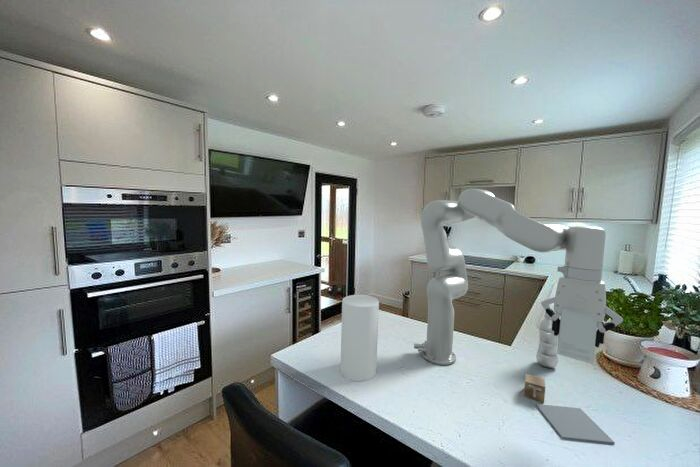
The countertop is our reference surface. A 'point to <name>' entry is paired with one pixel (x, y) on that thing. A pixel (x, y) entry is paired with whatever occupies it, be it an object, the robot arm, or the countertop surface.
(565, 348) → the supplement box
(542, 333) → the plastic bottle
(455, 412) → the countertop surface
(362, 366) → the cylinder
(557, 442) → the countertop surface
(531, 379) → the letter cube
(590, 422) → the mat
